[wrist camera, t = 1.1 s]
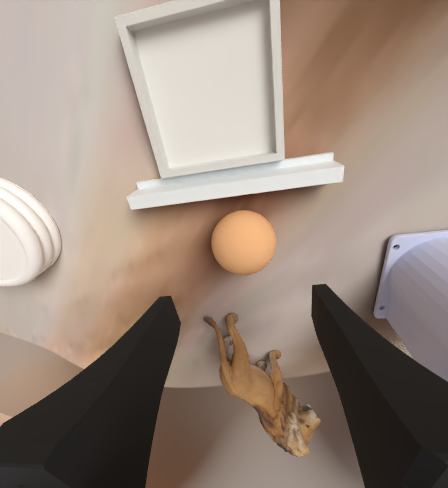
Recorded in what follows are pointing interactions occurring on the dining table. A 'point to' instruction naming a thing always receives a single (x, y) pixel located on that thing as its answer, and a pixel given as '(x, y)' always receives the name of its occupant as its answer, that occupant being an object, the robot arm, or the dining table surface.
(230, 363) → the lion figurine
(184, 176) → the white picture ledge
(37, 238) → the coaster
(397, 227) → the dining table surface
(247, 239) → the ball
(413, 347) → the robot arm
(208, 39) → the tray
